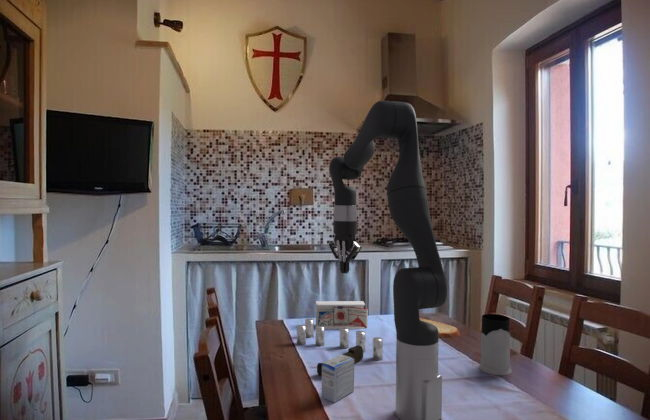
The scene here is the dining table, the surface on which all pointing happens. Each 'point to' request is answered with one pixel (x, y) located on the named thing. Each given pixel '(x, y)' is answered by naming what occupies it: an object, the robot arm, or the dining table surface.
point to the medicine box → (337, 378)
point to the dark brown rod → (352, 352)
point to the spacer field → (308, 332)
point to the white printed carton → (341, 314)
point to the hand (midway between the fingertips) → (344, 272)
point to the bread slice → (444, 329)
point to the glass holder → (495, 344)
